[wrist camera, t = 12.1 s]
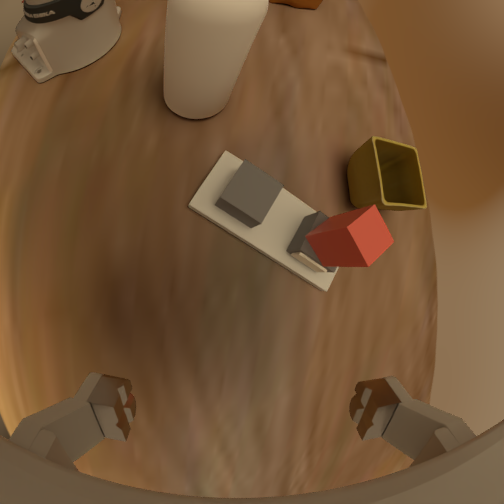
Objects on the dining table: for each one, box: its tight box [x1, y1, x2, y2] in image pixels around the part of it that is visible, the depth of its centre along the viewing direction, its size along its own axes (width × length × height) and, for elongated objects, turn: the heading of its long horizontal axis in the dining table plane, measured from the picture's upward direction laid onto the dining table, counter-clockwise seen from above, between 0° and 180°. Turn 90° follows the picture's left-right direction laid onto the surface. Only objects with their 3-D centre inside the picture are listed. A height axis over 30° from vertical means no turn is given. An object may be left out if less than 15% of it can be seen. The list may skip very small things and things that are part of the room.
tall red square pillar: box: [305, 204, 394, 267], centre depth 27 cm, size 4×4×8 cm
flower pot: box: [347, 136, 427, 211], centre depth 35 cm, size 9×9×9 cm
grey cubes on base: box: [188, 151, 339, 292], centre depth 32 cm, size 20×8×6 cm, turn 59°
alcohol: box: [164, 0, 269, 119], centre depth 19 cm, size 9×9×30 cm
